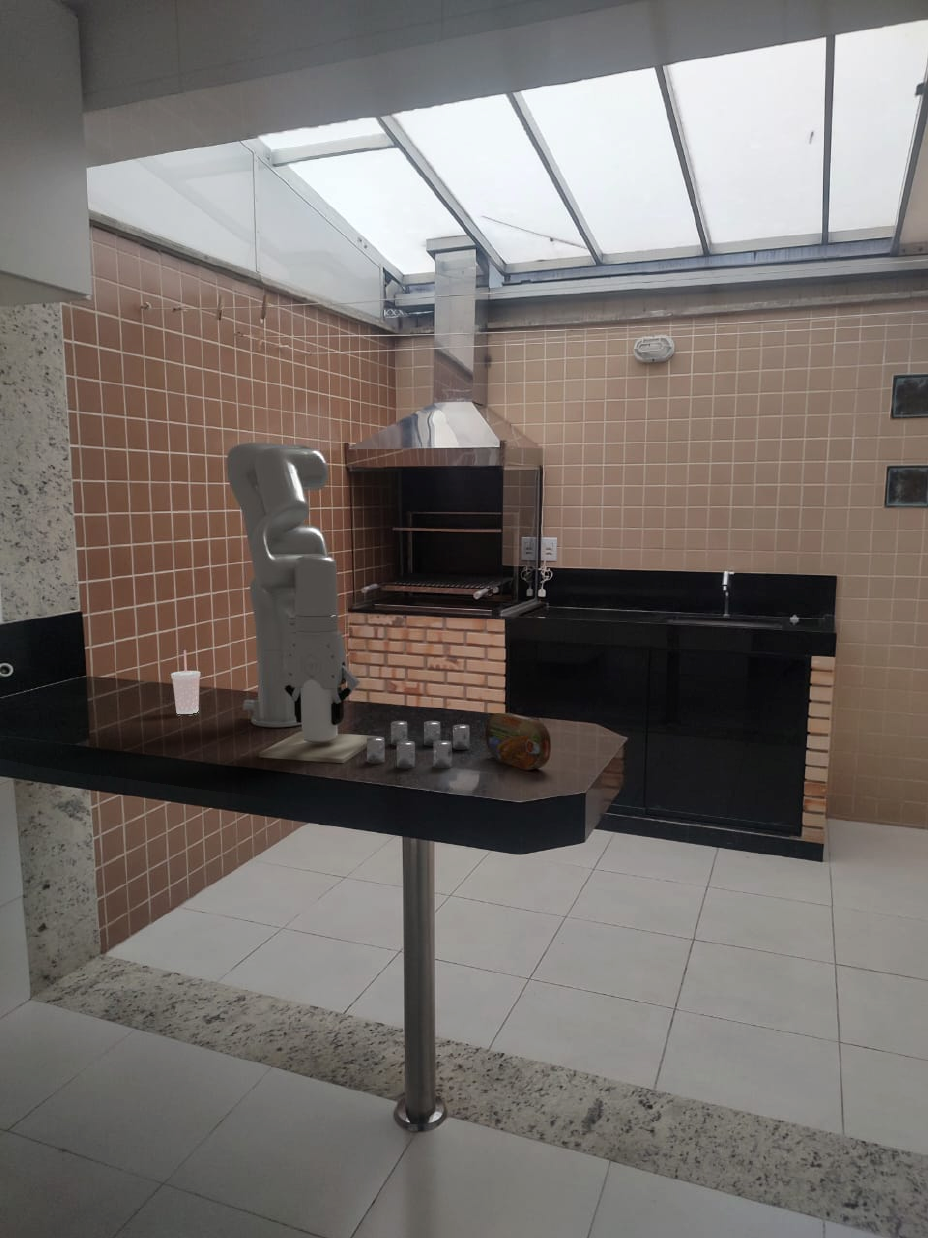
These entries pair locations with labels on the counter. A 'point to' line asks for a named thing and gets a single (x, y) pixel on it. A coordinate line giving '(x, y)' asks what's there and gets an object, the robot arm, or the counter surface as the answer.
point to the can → (317, 713)
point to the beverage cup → (186, 690)
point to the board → (317, 748)
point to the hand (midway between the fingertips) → (319, 721)
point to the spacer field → (408, 747)
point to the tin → (518, 741)
